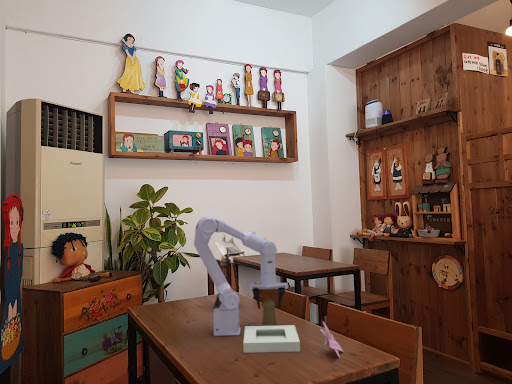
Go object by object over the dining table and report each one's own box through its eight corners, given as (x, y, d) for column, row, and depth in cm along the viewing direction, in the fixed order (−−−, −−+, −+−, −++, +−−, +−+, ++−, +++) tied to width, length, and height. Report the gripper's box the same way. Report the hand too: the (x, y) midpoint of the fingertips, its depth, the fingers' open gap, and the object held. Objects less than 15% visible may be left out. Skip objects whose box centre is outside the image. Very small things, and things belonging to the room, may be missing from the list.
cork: (276, 331, 143) (275, 301, 144) (260, 330, 144) (259, 300, 145) (278, 326, 149) (277, 297, 150) (263, 325, 150) (262, 297, 151)
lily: (326, 367, 112) (340, 340, 112) (300, 344, 119) (313, 319, 119) (343, 367, 119) (357, 342, 120) (317, 346, 127) (330, 322, 127)
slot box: (243, 352, 122) (243, 343, 122) (245, 334, 140) (245, 326, 140) (300, 351, 122) (299, 341, 122) (294, 333, 140) (294, 325, 140)
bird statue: (252, 310, 175) (250, 232, 177) (228, 315, 167) (226, 234, 169) (233, 303, 188) (231, 231, 190) (209, 307, 181) (208, 233, 183)
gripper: (249, 274, 144) (250, 311, 143) (287, 273, 144) (288, 310, 143) (249, 271, 151) (250, 306, 150) (286, 270, 151) (287, 305, 150)
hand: (269, 308), depth 147 cm, fingers open, 7 cm apart
